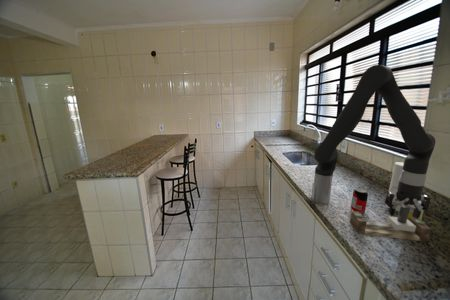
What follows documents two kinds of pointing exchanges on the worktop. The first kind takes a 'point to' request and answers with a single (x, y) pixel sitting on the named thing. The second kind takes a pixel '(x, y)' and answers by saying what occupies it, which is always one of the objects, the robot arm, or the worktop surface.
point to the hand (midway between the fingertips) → (403, 216)
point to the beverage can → (359, 200)
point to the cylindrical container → (396, 180)
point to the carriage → (402, 220)
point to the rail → (391, 233)
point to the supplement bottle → (413, 210)
